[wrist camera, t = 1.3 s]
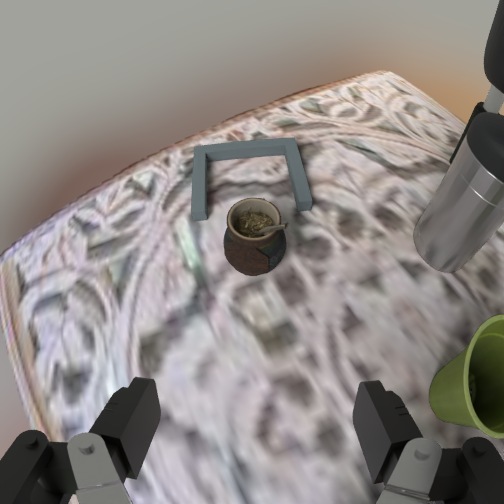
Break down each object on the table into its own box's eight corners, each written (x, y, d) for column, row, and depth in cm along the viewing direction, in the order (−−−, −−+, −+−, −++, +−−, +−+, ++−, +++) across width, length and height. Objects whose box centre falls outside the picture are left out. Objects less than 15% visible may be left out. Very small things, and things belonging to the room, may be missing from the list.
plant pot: (473, 334, 31) (527, 300, 22) (493, 417, 25) (554, 404, 16) (399, 361, 31) (449, 333, 21) (419, 456, 25) (477, 461, 15)
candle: (476, 167, 46) (527, 62, 25) (469, 179, 45) (526, 66, 23) (455, 151, 48) (500, 44, 27) (447, 162, 47) (497, 47, 25)
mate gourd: (243, 223, 41) (239, 168, 32) (296, 245, 39) (305, 193, 31) (214, 266, 38) (201, 217, 29) (270, 293, 36) (274, 249, 27)
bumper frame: (294, 146, 48) (294, 137, 47) (310, 210, 42) (312, 200, 40) (196, 155, 48) (194, 146, 47) (193, 221, 42) (191, 212, 40)
